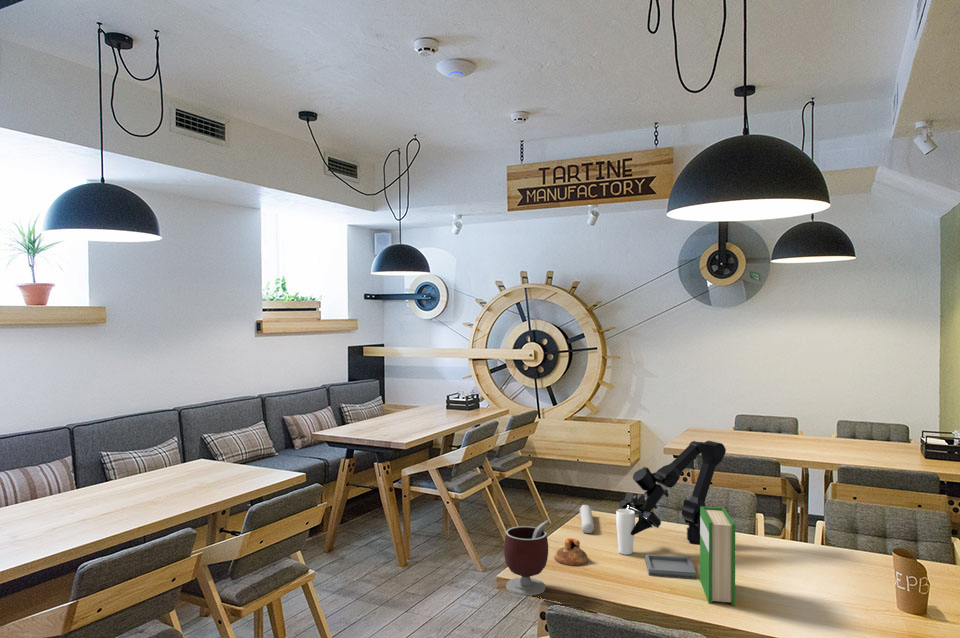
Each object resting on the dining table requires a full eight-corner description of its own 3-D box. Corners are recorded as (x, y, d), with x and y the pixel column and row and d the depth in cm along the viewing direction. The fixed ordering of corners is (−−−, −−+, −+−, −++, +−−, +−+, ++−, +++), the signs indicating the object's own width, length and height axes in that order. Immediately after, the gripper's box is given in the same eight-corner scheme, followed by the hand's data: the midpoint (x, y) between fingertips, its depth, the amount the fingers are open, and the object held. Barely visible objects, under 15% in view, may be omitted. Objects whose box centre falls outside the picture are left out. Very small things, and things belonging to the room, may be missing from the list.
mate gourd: (518, 600, 189) (518, 533, 189) (495, 583, 201) (496, 520, 202) (560, 590, 196) (561, 525, 196) (536, 574, 208) (537, 514, 209)
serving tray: (689, 563, 220) (689, 557, 220) (696, 578, 206) (696, 572, 206) (645, 560, 223) (645, 554, 223) (648, 575, 209) (648, 569, 209)
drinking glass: (636, 551, 231) (636, 510, 232) (632, 557, 225) (633, 515, 225) (618, 548, 234) (618, 507, 234) (613, 554, 228) (614, 512, 228)
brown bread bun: (586, 554, 228) (586, 534, 228) (589, 567, 216) (589, 546, 216) (553, 553, 229) (554, 533, 229) (554, 565, 217) (554, 544, 217)
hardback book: (735, 606, 186) (735, 524, 187) (708, 603, 188) (709, 522, 188) (723, 582, 204) (724, 507, 204) (699, 580, 205) (700, 506, 205)
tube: (596, 525, 249) (593, 507, 274) (583, 520, 250) (581, 502, 275) (592, 538, 249) (589, 518, 274) (579, 533, 250) (577, 514, 275)
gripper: (622, 478, 241) (598, 510, 236) (654, 490, 224) (628, 525, 219) (639, 497, 244) (615, 529, 239) (672, 510, 227) (646, 545, 222)
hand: (625, 531), depth 230 cm, fingers closed on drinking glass, 6 cm apart
